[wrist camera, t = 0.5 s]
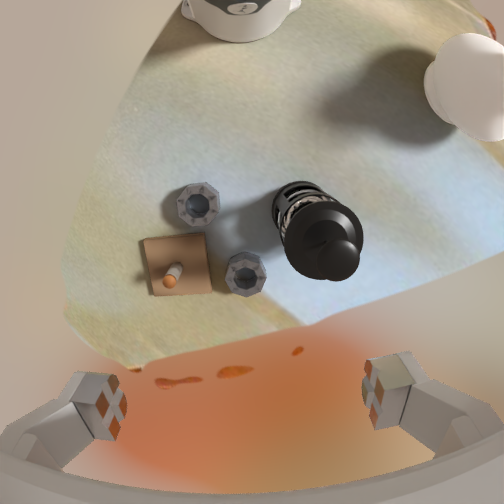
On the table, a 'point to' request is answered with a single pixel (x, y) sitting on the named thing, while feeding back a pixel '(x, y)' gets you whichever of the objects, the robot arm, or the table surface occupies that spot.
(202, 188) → the grey octagonal nut
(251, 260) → the grey octagonal ring
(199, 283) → the keeper
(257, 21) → the robot arm
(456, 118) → the decorative vase
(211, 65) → the table surface
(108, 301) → the table surface
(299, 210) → the french press
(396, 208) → the table surface
